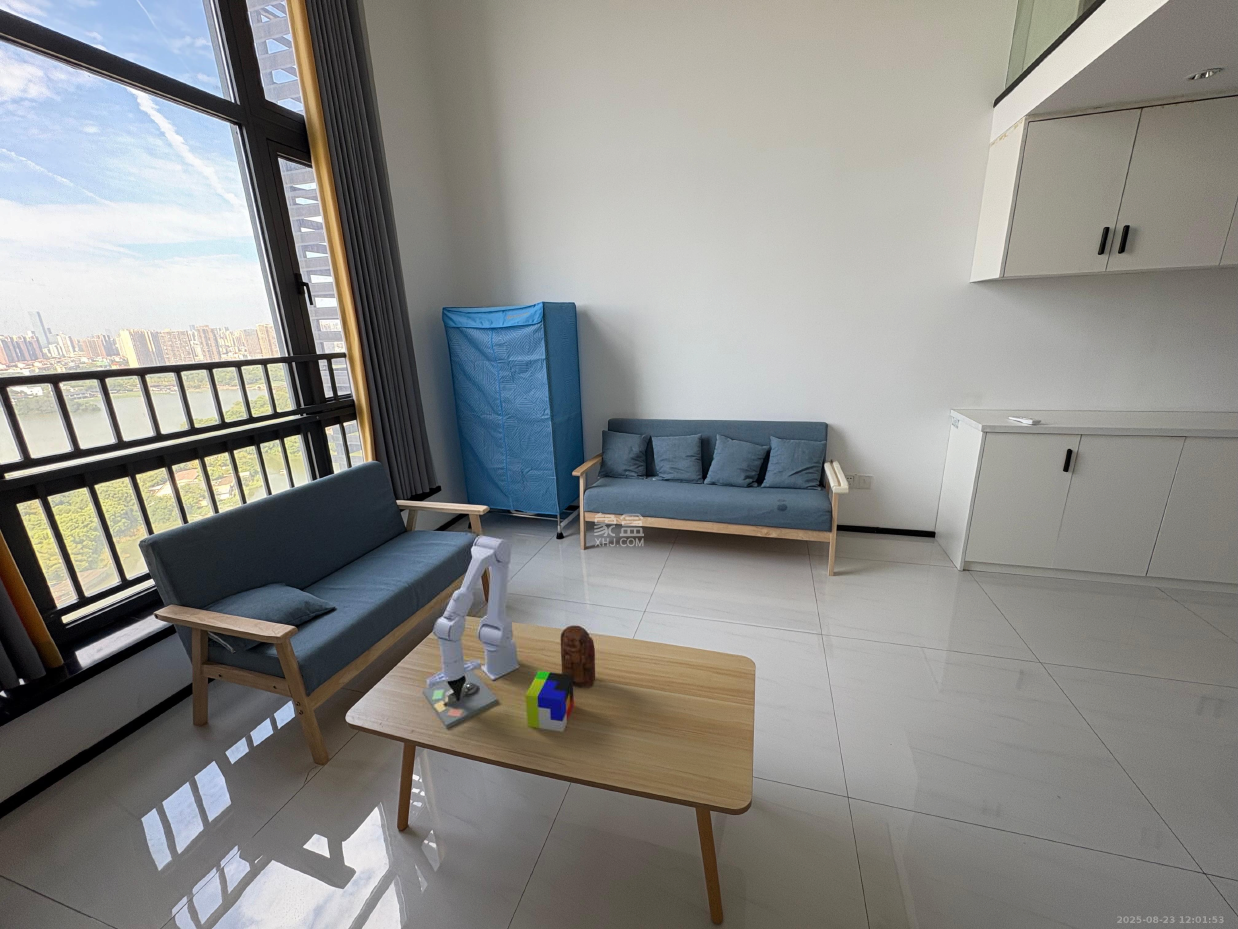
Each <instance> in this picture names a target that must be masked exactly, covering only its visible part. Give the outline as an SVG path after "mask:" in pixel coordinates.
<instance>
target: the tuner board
mask: <svg viewBox="0 0 1238 929" xmlns="http://www.w3.org/2000/svg"><path fill="white" fill-rule="evenodd" d="M464 676H465V677H466V682H465V685H466V684H467V683H473V684H476V685H477V691H476V692H475V693H474V694H471V695H465V696H463V697H462V698H460V700H459V701H455V702H453V703H452V704H450V705H448V704H447V705H446V706H444V705H443V704H444V703H446V699H445V693H447V692H448V691H450V690H452V689H451V688H450V686H449V685H448V683H447V682H442V683H440V684H437V685H435V686H433V688H431V689H429V688H428V687H426V688H423V689H422V694H423V696H424V697H425V698H426V700H427V702H428V703H429V705H430V706H431V707H432V709H433V711H434V712H435V714H436V715H437V717H438V718H439V719H440V721H441V723H442V724H443V726H444V727H445V728H446V729H449V728H450V727H452V726H455V725H456V724H459V723H460V722H462V721H464V720H466V719H468V718H470V717H472V716H474V715H476V714H478V713H479V712H482V711H483V710H486V709H487V708H489V707H492V706H493V705H495V704H497V703H498V698H497V697H496V695H494V693H493V692H492V691H491V689H490V688H489V687H488V686H487V685H486V684H485V683H484V682H483V681H482V679H481V678H480V677H479V676H478V675H477V674H476V672H474V670H472V671H470V672H468V673H467V674H465V675H464Z"/></svg>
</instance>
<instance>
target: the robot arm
mask: <svg viewBox="0 0 1238 929" xmlns="http://www.w3.org/2000/svg"><path fill="white" fill-rule="evenodd" d="M470 551H471V553H470V554H471V557H472V558H471V560H470V563H469V565H468V568H467V571H466V572H465V573H466V574H465V576H464V579H463V580H462V584H461V586H460V588H459V589H457V590H455V591H454V592H453V593H452V597H451V598H450V600H449V603H448V604H447V607H446V609H445V610H444V612H443V615H442V616H441V617H439V618H438V619H437V620H436V621H435V623H434V626H433V630H432V634H433V635H434V637H436V640H437V642H438V643H439V649H440V650H439V651H440V658H441V666H442V670H441V671H439V672H437V673H436V674H434V675H433V676H431V677H429V678H426V686H427V688H429V689H431V688H433V686H435V685H437V684H440V683H442V682H447V683H448V685H449V686H450V688H451V689H452V690H453V692H454V695H455V698H456V700H457V701H459V700H460V696H461V691H462V688H463V686H464V684H465V682H466V677H465V676H464V675H465V674H467V673H468V672H470V671H472V670H473V671H474V670H480V669H481V670H482V671H483V672H484V673H485V674H486V675H487V677H488V678H489V679H490V680H491V681H494V680H496V679H498V678H500V677H502V676H504V675H506V674H509V673H511V672H513V671H515V670H516V669H519V668H520V665H519V663H518V662H519V659H518V648H517V643H516V642H515V640H514V639H513V638H514V631H513V627H512V626H513V622H512V621H511V619H510V618H509V617H508V616H507V615H506V607H507V606H506V605H507V592H508V581H509V571H510V564H511V556H512V544H511V543H510V541H508V540H507V539H505V538H503V539H502V538H497V537H496V538H495V537H493V536H492V537H491V536H486V535H484V534H482V535H479V536H477V537H476V538H475V540H474V542H473V544H472V547H471V549H470ZM490 567H491V568H490ZM487 568H490V578H489V589H488V590H489V591H488V603H487V613H486V615H485V616H483V617H482V618H481V619H480V621H479V627H478V629H477V636H476V637H477V640H478V641H479V642H480V643H481V645H482V647H483V648H484V660H485V664H484V665H482V664H481V661H480V660H479V659H475V660H472V661H466V662H465V660H464V659H465V658H464V651H463V642H462V636H463V635H464V634H465V630H466V623H467V618H466V617H467V615H468V612H469V611H470V608H471V606H472V604H473V602H474V600H475V599H474V594H473V592H474V590H475V589H476V587H477V585H478V583H479V581H480V580H481V578H482V576H483V574H484V573H485V571H486V569H487Z"/></svg>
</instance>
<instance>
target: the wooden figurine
mask: <svg viewBox="0 0 1238 929" xmlns="http://www.w3.org/2000/svg"><path fill="white" fill-rule="evenodd" d="M594 644H595V642H594V639H593V638H592V637H591V636H590V633H589V632H588V630H586V629H585V628H584V627H582V626H580V625H570V626H566V627H565V628H564V629H563V631H562V632H561V634H560V652H561V653H560V658H561V662H560V663H561V674H568V675H573V687H576V688H582V687H585V688H588V689H590V688H592V687H593V685H594V683H595V681H596V651H595V650H596V649H595V645H594Z"/></svg>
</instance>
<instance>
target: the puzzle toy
mask: <svg viewBox="0 0 1238 929" xmlns="http://www.w3.org/2000/svg"><path fill="white" fill-rule="evenodd" d="M574 702H575V700H574V686H573V675H568V674H562V673H558V672H551V671H542V670H538V672H537V674H536V675H535V677H534V679H533V681H532V682H531V685H530V686H529V688H528V690H527V692H526V693H525V705H526V706H525V707H526V720H527V727H528V728H529V727H530V728H535V729H536V728H537V729H542V730H550V731H555V732H556V731H557V732H562V733H563V732H564V731H565V728H566V725H567V723H568V721H569V718H570V716H571V713H572V710H573V708H574V707H575V703H574Z"/></svg>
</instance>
